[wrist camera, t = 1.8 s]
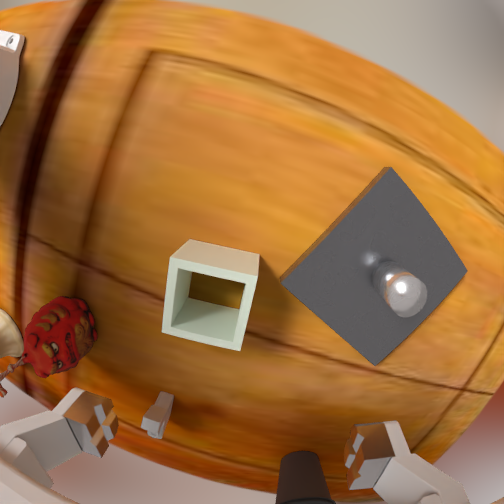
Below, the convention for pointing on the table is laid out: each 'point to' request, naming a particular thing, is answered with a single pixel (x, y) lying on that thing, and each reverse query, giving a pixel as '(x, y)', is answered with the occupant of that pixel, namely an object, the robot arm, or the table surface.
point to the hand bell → (9, 337)
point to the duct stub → (377, 268)
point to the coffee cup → (302, 480)
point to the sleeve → (204, 313)
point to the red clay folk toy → (56, 337)
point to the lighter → (158, 415)
